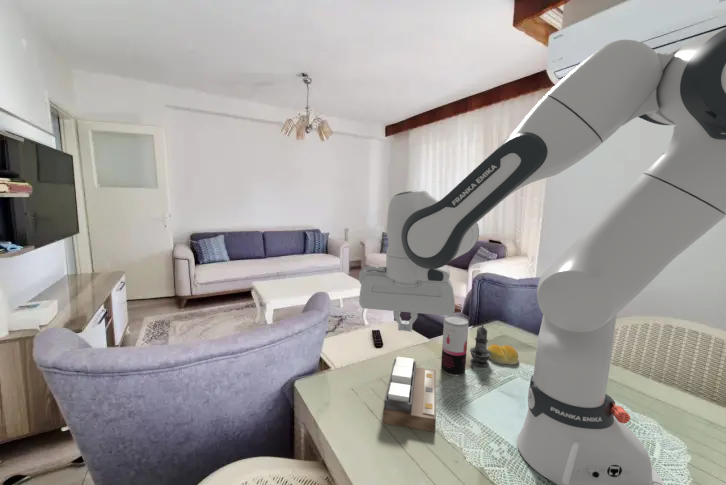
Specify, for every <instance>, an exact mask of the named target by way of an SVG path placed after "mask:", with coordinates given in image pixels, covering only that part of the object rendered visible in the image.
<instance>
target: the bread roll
mask: <svg viewBox="0 0 726 485" xmlns="http://www.w3.org/2000/svg"><path fill="white" fill-rule="evenodd" d="M487 350H489V351H490V352H491V356H490V358H489V360H491V361H493V362H494V363H497V364H500V365H506V364H507V365H509V366H511V365H517V364H518V363H519V354H518V352H517V351H516V349H515V348H514V347H513V346H511V345H508V344H504V345H502V346H501V345H498V344H491V345H490V346H488V347H487Z"/></svg>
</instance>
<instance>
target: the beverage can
mask: <svg viewBox="0 0 726 485" xmlns="http://www.w3.org/2000/svg"><path fill="white" fill-rule="evenodd" d="M442 330H443V332H442V346H441V363H440V368H441V370H442V371H443V372H444V373H445V374H447V375H449V376H454V377H457V376H458V377H460V376H462V375H463V374H465V372H466V364H467V351H468V350H467V348H468V336H469V335H468V334H469V320H468V319H467V318H464V317H462V316H459V315H451V316H447V315H446V316H445V317H444V320H443V329H442Z"/></svg>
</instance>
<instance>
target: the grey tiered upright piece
mask: <svg viewBox="0 0 726 485" xmlns="http://www.w3.org/2000/svg"><path fill="white" fill-rule="evenodd" d="M474 340H475V346H474V347H471V348H470V349H469V352H470V356H471V357H472V358H471V359H470V360H469V362H470V364H471V365H472V366H474V367H476V368H480V369H487V368H488V367H489V366H490V363H489V362H488V360H490V356H491V352H490V351H489V350H487V349H488V347H487V343H488V342H489V339H488V330H487V329H486V328H485V326H484V324H481V327H478V328H477V329H476V337H475V338H474Z"/></svg>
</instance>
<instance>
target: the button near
mask: <svg viewBox="0 0 726 485" xmlns="http://www.w3.org/2000/svg"><path fill="white" fill-rule="evenodd" d="M409 398H410V385H406V384H399V383H393V382H391V385H390V389H389V393H388V400H394V401H400V402H406V403H409Z"/></svg>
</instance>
